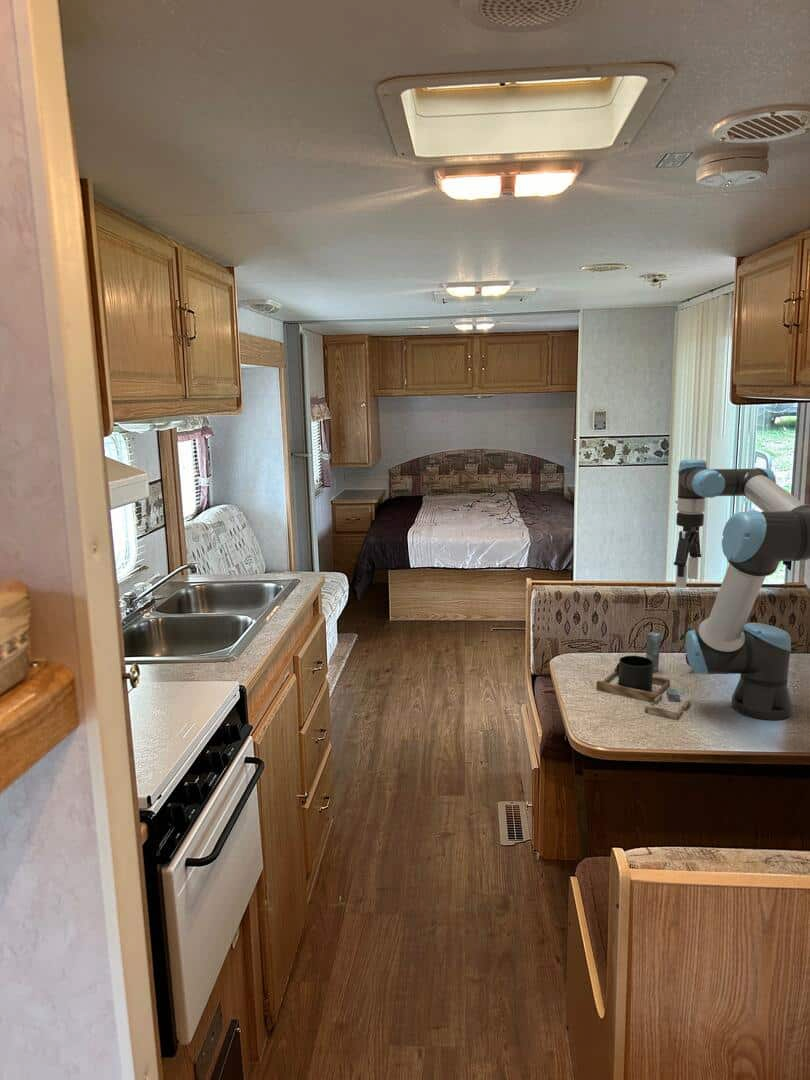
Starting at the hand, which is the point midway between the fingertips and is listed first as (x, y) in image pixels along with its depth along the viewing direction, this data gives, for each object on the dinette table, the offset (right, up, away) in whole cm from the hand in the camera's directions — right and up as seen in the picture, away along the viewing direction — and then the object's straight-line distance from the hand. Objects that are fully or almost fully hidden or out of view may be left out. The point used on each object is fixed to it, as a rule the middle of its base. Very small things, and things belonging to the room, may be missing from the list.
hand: (686, 583), depth 230 cm
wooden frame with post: (-14, -30, +1) cm, 33 cm away
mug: (-18, -31, -4) cm, 36 cm away
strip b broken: (-11, -33, -17) cm, 38 cm away
